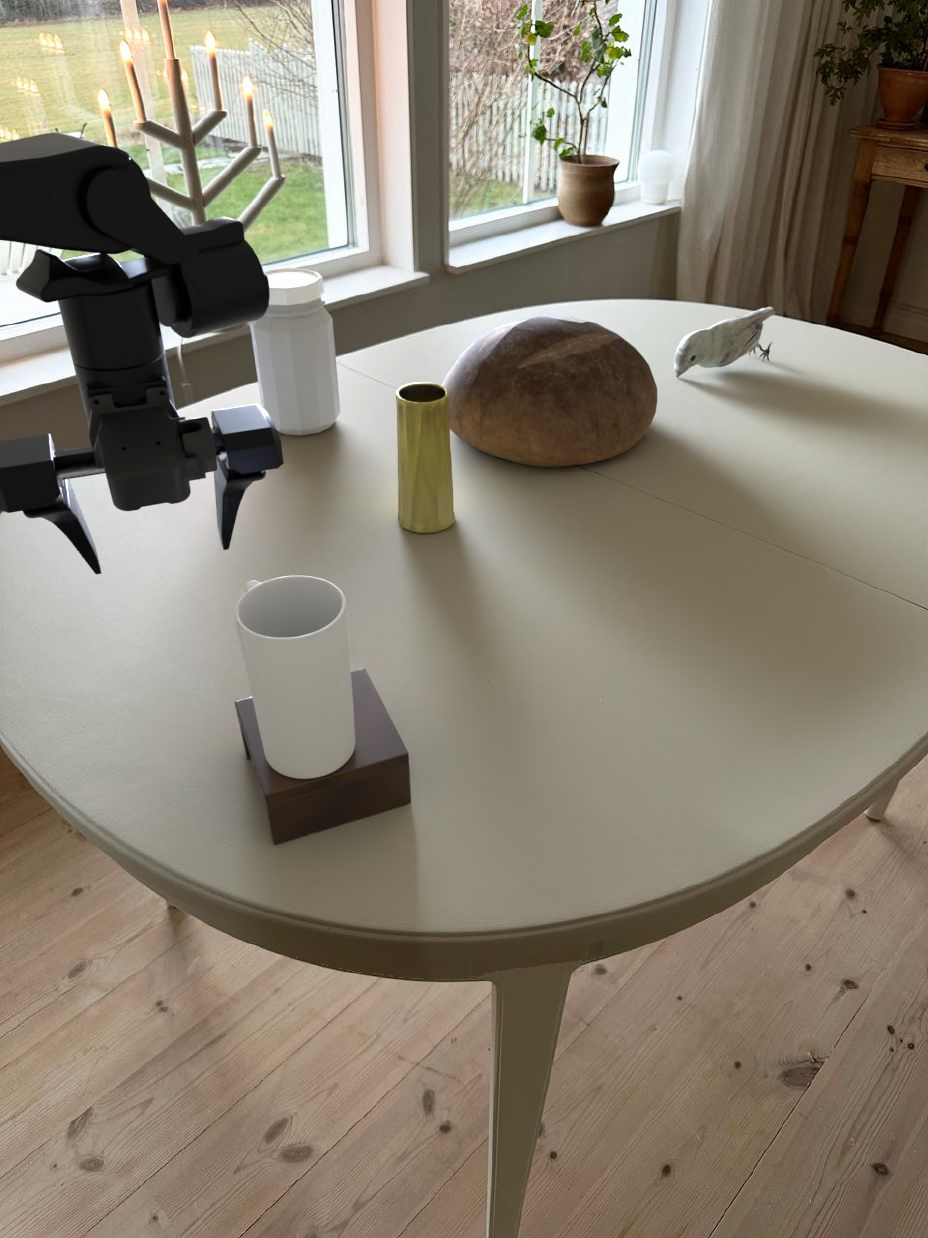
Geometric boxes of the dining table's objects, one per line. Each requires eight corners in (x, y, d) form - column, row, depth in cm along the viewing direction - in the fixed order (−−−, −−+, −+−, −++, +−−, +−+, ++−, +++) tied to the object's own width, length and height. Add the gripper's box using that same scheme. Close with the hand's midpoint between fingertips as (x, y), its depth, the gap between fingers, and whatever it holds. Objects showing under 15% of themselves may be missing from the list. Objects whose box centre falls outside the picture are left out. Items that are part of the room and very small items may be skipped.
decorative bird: (662, 371, 131) (669, 319, 127) (749, 352, 137) (758, 301, 133) (687, 384, 127) (695, 330, 123) (775, 364, 134) (785, 312, 129)
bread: (399, 418, 118) (394, 316, 111) (554, 370, 131) (560, 276, 124) (531, 497, 102) (537, 383, 94) (694, 433, 115) (711, 329, 107)
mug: (378, 753, 63) (367, 611, 56) (292, 799, 60) (268, 654, 53) (303, 678, 69) (284, 542, 62) (222, 716, 66) (192, 577, 59)
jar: (250, 418, 119) (229, 275, 108) (317, 400, 123) (303, 260, 113) (286, 445, 112) (267, 296, 102) (355, 424, 117) (344, 279, 106)
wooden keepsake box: (274, 845, 63) (264, 795, 60) (244, 749, 70) (234, 700, 67) (411, 803, 66) (409, 753, 63) (369, 715, 73) (365, 667, 70)
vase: (418, 540, 95) (413, 410, 86) (386, 516, 99) (379, 389, 90) (466, 522, 98) (466, 394, 89) (433, 499, 102) (430, 375, 93)
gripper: (-44, 424, 51) (32, 649, 60) (290, 379, 56) (312, 590, 66) (-38, 357, 59) (27, 563, 68) (253, 323, 65) (277, 517, 74)
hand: (163, 559), depth 69 cm, fingers open, 9 cm apart
